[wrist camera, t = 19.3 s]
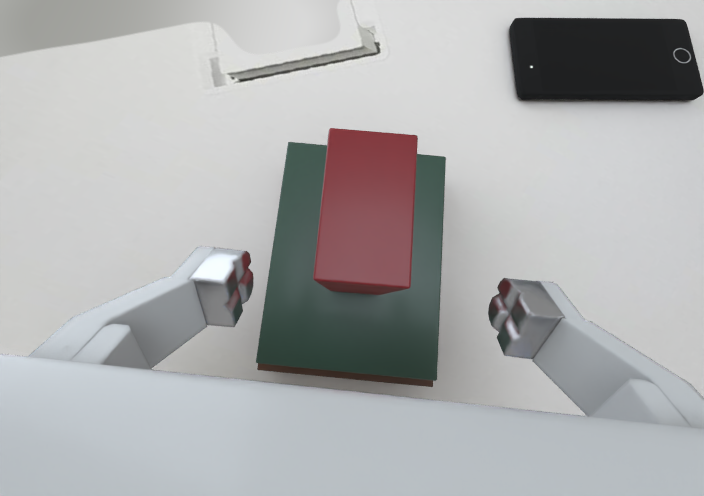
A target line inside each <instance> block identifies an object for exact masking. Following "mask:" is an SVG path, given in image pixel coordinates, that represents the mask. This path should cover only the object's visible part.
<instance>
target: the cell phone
mask: <svg viewBox="0 0 704 496" xmlns="http://www.w3.org/2000/svg"><path fill="white" fill-rule="evenodd" d="M510 40H511V48H512V56H513V64H514V72H515V80H516V88H517V94H518V97H519V98H520V99H522V100H529V99H598V100H694V99H696V98H698V97H700V96H701V95H703V91H704V90H703V86H702V82H701V78H700V74H699V70H698V66H697V62H696V58H695V54H694V50H693V46H692V42H691V39H690V35H689V31H688V27H687V24H686V22H685V21H684V20H682V19H605V18H516V19H514V21H513V23H512V24H511V26H510Z"/></svg>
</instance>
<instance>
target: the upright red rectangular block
mask: <svg viewBox="0 0 704 496" xmlns="http://www.w3.org/2000/svg"><path fill="white" fill-rule="evenodd" d="M417 140H418V138H417V136H416V135H406V134H394V133H382V132H370V131H359V130H347V129H335V128H330V129H329V134H328V144H327V153H326V163H325V172H324V181H323V191H322V200H321V209H320V219H319V228H318V237H317V247H316V256H315V265H314V275H313V279H314V281H316V282H318V283H319V284H321V285H322V286H324V287H325V288H327V289H328V290H330V291H337V292H348V293H360V294H372V295H382V294H386V293H391V292H395V291H400V290H405V289H409V288H410V287H411V270H412V248H413V227H414V205H415V184H416V162H417Z"/></svg>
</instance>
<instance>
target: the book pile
mask: <svg viewBox="0 0 704 496" xmlns="http://www.w3.org/2000/svg"><path fill="white" fill-rule="evenodd" d="M326 153H327V146H326V145H316V144H305V143H295V142H288V148H287V154H286V161H285V168H284V175H283V182H282V188H281V195H280V202H279V209H278V216H277V222H276V229H275V236H274V243H273V250H272V256H271V263H270V270H269V277H268V284H267V290H266V297H265V304H264V311H263V318H262V324H261V331H260V338H259V345H258V352H257V358H256V363H258V368H257V369H258V370H264V371H274V372H285V373H295V374H305V375H315V376H326V377H336V378H346V379H356V380H367V381H377V382H387V383H397V384H408V385H418V386H428V387H433V380H434V381H436V380H437V361H438V336H439V311H440V286H441V261H442V236H443V211H444V186H445V161H446V158H445V157H441V156H431V155H421V154H417V162H416V184H415V205H414V227H413V248H412V270H411V287H410V288H409V289H405V290H400V291H395V292H391V293H386V294H382V295H372V294H360V293H348V292H337V291H330V290H328V289H327V288H325V287H324V286H322V285H321V284H319V283H318V282H316V281H314V279H313V275H314V265H315V256H316V247H317V237H318V228H319V219H320V209H321V200H322V191H323V181H324V172H325V163H326Z"/></svg>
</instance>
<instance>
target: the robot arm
mask: <svg viewBox="0 0 704 496" xmlns="http://www.w3.org/2000/svg"><path fill="white" fill-rule="evenodd" d="M250 263H251V259H250V254H249V253H248V252H247V251H240V250H232V249H224V248H215V247H207V246H200V247H197V248H196V249H195V250H194V251H193V252H192V254H191V255H190V256H189V257H188V258H187V259H186V260H185V261H184V262H183V264H182V265H181V266H180V267H179V268H178V269H177V270H176V271H175V272H174V274H173V275H172V276H171V277H164V278H161V279H159V280H157V281H155V282H152V283H150V284H148V285H145V286H143V287H141V288H139V289H136V290H134V291H132V292H129V293H127V294H125V295H123V296H120V297H118V298H116V299H113V300H111V301H109V302H107V303H104V304H102V305H100V306H97V307H95V308H93V309H90V310H88V311H86V312H84V313H81V314H79V315H77V316H74V317H72V318H71V319H70V320H68V321H67V322H66V323H65V324H64V325H63V326H62V327H61V328H59V329H58V330H57V331H56V332H55V333H54V334H53V335H52V336H50V337H49V338H48V339H47V340H46V341H45V342H44V343H43V344H41V345H40V346H39V347H38V348H37V349H36V350H35V351H34V352H32V353H31V354H30V355H29V356H28V357H27V356H18V355H9V354H0V496H704V398H703V397H702V396H701V395H700V393H699V392H698V391H697V390H696V389H695V388H694V387H693V386H692V385H691V384H690V383H688V382H687V381H685V380H684V379H682V378H680V377H679V376H677V375H676V374H674V373H672V372H671V371H669V370H668V369H666V368H665V367H663V366H661V365H660V364H658V363H657V362H655V361H653V360H652V359H650V358H649V357H647V356H645V355H644V354H642V353H641V352H639V351H637V350H636V349H634V348H633V347H631V346H629V345H628V344H626V343H625V342H623V341H621V340H620V339H618V338H617V337H615V336H614V335H612V334H610V333H609V332H607V331H606V330H604V329H602V328H601V327H599V326H598V325H596V324H594V323H593V322H591V321H585V319H584V318H583V317H582V315H581V314H580V313H579V312H578V310H577V309H576V308H575V306H574V305H573V304H572V303H571V301H570V300H569V299H568V297H567V296H566V295H565V294H564V292H563V291H562V290H561V288H560V287H559V286H558V285H557V284H555V283H554V282H546V281H528V280H518V279H508V278H504V279H503V280H502V281H500V283H499V285H498V287H497V288H498V290H499V294H497V295H496V296H494V297H493V298H492V300H491V302H490V304H489V312H488V314H489V320H490V322H491V325H492V327H494V328H495V329H496V330H497V331H498V332H499V334H498V336H497V339H498V342H499V344H500V346H501V349H502V351H503V353H504V356H512V357H519V358H527V359H533V360H532V361H533V362H534V363H535V364H536V365H537V366H538V367H539V368H540V369H541V370H542V371H543V372H544V373H545V374H546V375H547V376H548V377H549V378H550V379H551V380H552V381H553V382H554V383H555V384H556V385H557V386H558V387H559V388H560V389H561V390H562V391H563V392H564V393H565V394H566V395H567V396H568V397H569V398H570V399H571V400H572V401H573V402H574V403H575V404H576V405H577V406H578V407H579V408H580V409H581V410H582V411H583V412H584V413H585V414H586V415H587V416H580V415H570V414H561V413H552V412H542V411H533V410H524V409H514V408H505V407H495V406H486V405H476V404H467V403H457V402H448V401H438V400H429V399H420V398H410V397H401V396H392V395H383V394H373V393H364V392H355V391H345V390H336V389H327V388H317V387H308V386H299V385H289V384H280V383H271V382H261V381H252V380H243V379H233V378H224V377H215V376H205V375H196V374H187V373H177V372H168V371H159V370H152V368H153V367H154V366H155V365H157V364H158V363H159V362H161V361H162V360H163V359H165V358H166V357H167V356H168V355H170V354H171V353H172V352H174V351H175V350H176V349H178V348H179V347H180V346H182V345H183V344H184V343H186V342H187V341H188V340H190V339H191V338H192V337H194V336H195V335H196V334H198V333H199V332H200V331H202V330H203V329H204V328H206V327H207V325H214V326H227V327H235V325H236V323H237V321H238V319H239V317H240V316H241V314H242V312H243V309H242V304H243V303H245V302H247V301H248V300H249V297H250V295H251V293H252V288H253V273H252V272H251V271H250V269H249V268H248V266H249V265H250Z"/></svg>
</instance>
